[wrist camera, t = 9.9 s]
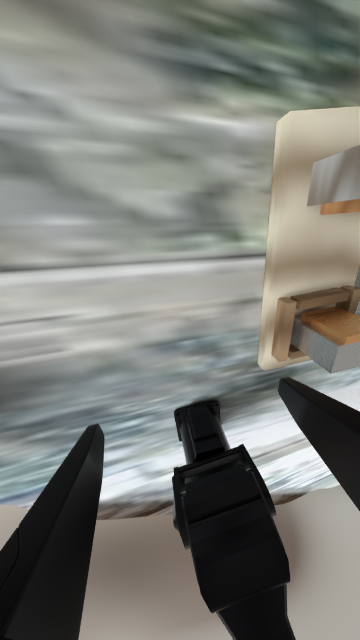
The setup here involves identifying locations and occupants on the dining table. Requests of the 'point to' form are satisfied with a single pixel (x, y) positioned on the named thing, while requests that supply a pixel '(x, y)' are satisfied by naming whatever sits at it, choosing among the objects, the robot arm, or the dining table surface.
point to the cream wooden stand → (311, 226)
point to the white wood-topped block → (328, 338)
